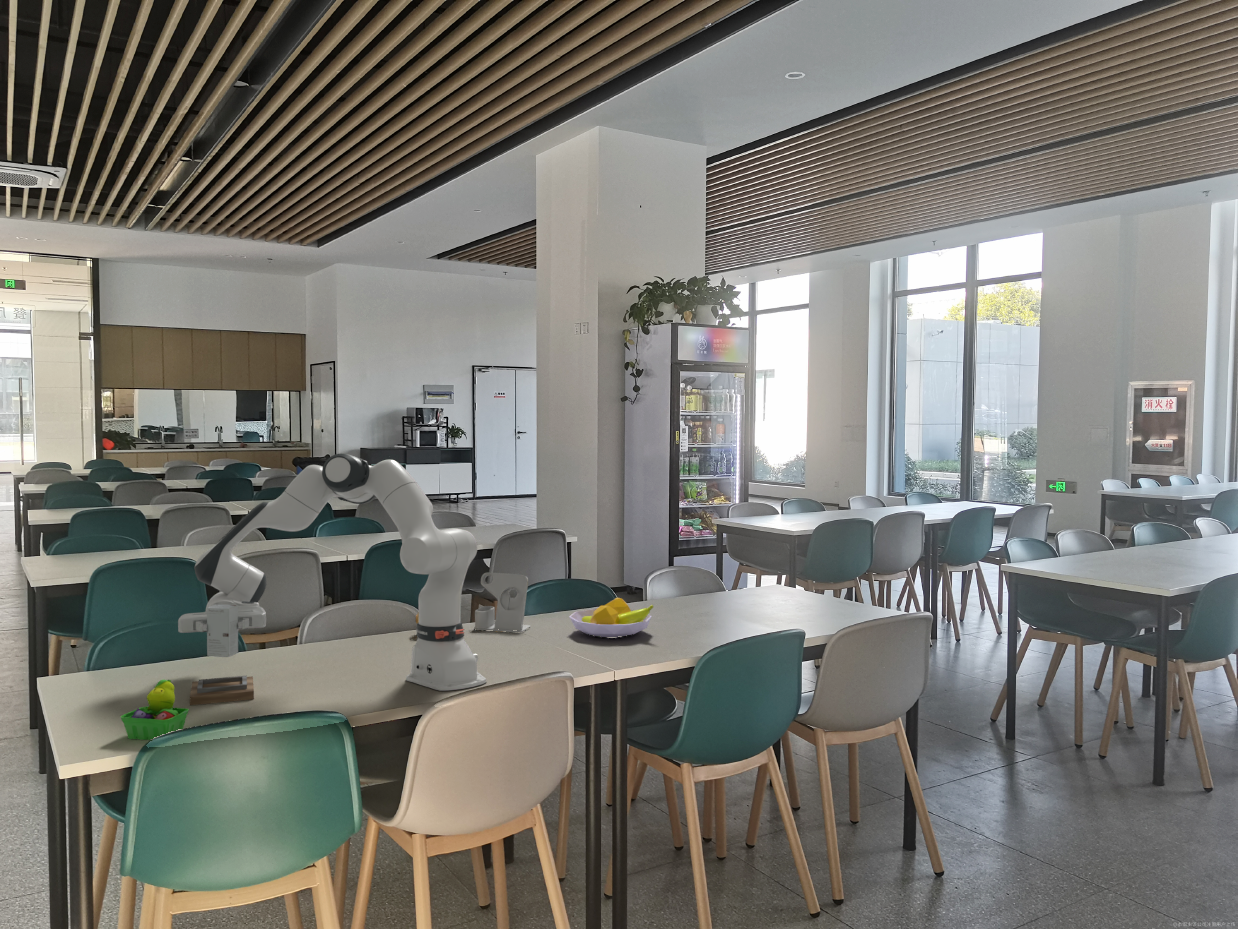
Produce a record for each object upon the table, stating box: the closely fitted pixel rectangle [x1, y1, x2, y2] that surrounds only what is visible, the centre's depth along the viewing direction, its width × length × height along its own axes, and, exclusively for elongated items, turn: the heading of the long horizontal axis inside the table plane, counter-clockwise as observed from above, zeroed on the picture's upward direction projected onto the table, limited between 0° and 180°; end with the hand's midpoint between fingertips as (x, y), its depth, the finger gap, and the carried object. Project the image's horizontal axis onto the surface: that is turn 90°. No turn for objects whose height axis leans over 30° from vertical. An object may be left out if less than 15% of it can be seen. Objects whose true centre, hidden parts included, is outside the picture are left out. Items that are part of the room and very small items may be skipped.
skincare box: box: [206, 604, 239, 658], centre depth 220 cm, size 6×4×12 cm
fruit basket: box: [120, 679, 190, 741], centre depth 190 cm, size 11×9×11 cm
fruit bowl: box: [568, 597, 654, 638], centre depth 291 cm, size 28×27×11 cm
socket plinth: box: [189, 675, 255, 706], centre depth 220 cm, size 14×14×3 cm
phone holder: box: [473, 572, 531, 633], centre depth 298 cm, size 17×10×18 cm, turn 77°
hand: (222, 627), depth 219 cm, fingers closed on skincare box, 7 cm apart
